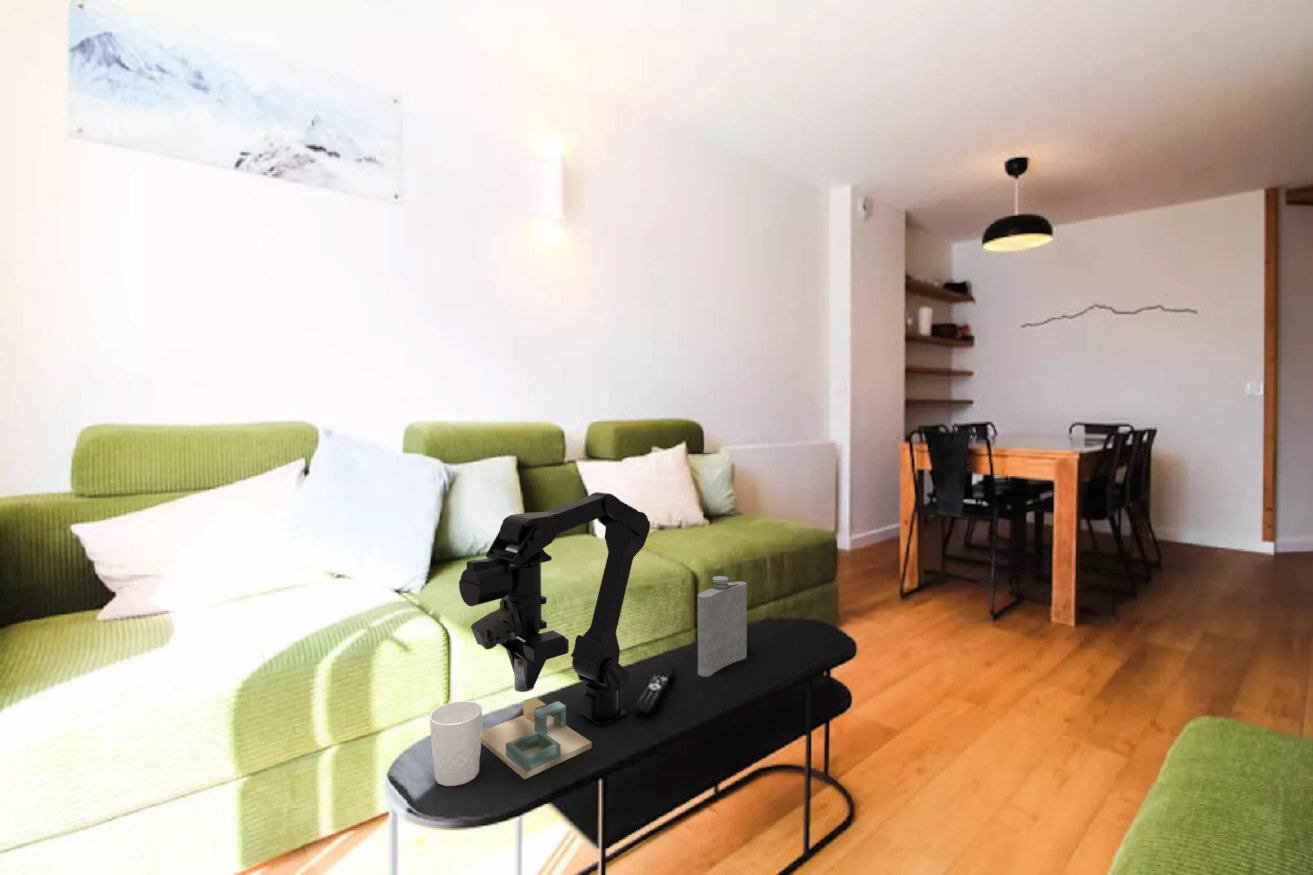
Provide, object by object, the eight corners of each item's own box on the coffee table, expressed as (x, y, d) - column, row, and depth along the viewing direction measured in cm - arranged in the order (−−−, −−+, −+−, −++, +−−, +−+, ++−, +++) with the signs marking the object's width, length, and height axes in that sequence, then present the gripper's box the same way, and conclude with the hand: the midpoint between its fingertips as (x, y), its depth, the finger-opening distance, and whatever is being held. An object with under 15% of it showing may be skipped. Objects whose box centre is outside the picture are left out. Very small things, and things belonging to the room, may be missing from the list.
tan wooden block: (534, 711, 114) (534, 696, 114) (546, 718, 111) (545, 704, 111) (523, 715, 112) (523, 701, 112) (534, 723, 109) (534, 708, 109)
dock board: (540, 713, 115) (539, 690, 115) (591, 748, 103) (591, 721, 103) (476, 738, 106) (475, 713, 106) (524, 779, 94) (524, 750, 94)
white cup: (488, 759, 100) (487, 699, 99) (475, 788, 92) (474, 724, 91) (440, 760, 99) (439, 700, 99) (423, 790, 91) (422, 725, 91)
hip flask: (706, 678, 130) (705, 586, 129) (691, 672, 133) (691, 582, 132) (749, 656, 141) (749, 572, 141) (735, 652, 144) (735, 569, 144)
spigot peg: (528, 681, 102) (528, 652, 102) (537, 688, 100) (537, 658, 100) (511, 687, 100) (510, 657, 100) (520, 693, 98) (520, 663, 98)
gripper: (453, 588, 101) (455, 680, 102) (504, 616, 87) (506, 721, 88) (514, 577, 109) (515, 662, 109) (570, 600, 95) (571, 698, 95)
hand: (524, 684), depth 100 cm, fingers closed on spigot peg, 3 cm apart
